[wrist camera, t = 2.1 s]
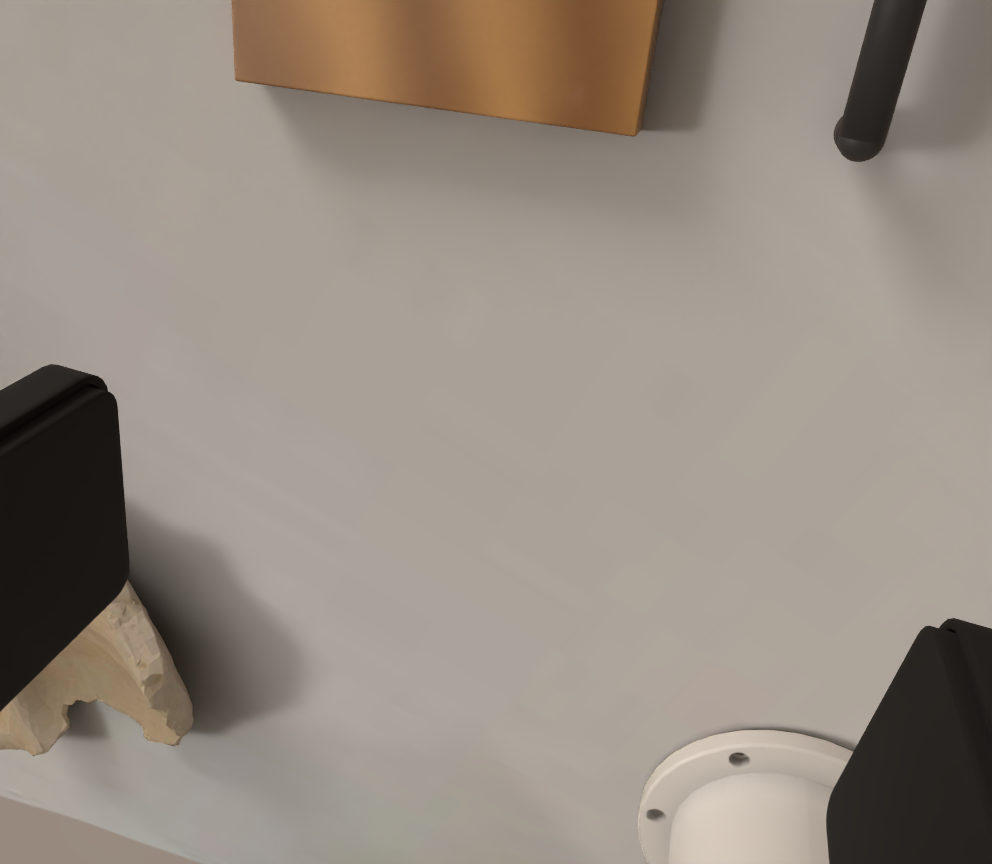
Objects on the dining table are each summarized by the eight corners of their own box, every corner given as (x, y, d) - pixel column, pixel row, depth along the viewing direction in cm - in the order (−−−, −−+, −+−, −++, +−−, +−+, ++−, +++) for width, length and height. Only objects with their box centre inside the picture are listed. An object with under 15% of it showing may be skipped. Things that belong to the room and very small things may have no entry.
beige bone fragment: (254, 762, 48) (206, 829, 44) (39, 709, 53) (-19, 766, 49) (175, 495, 40) (109, 551, 36) (-70, 463, 45) (-150, 509, 41)
